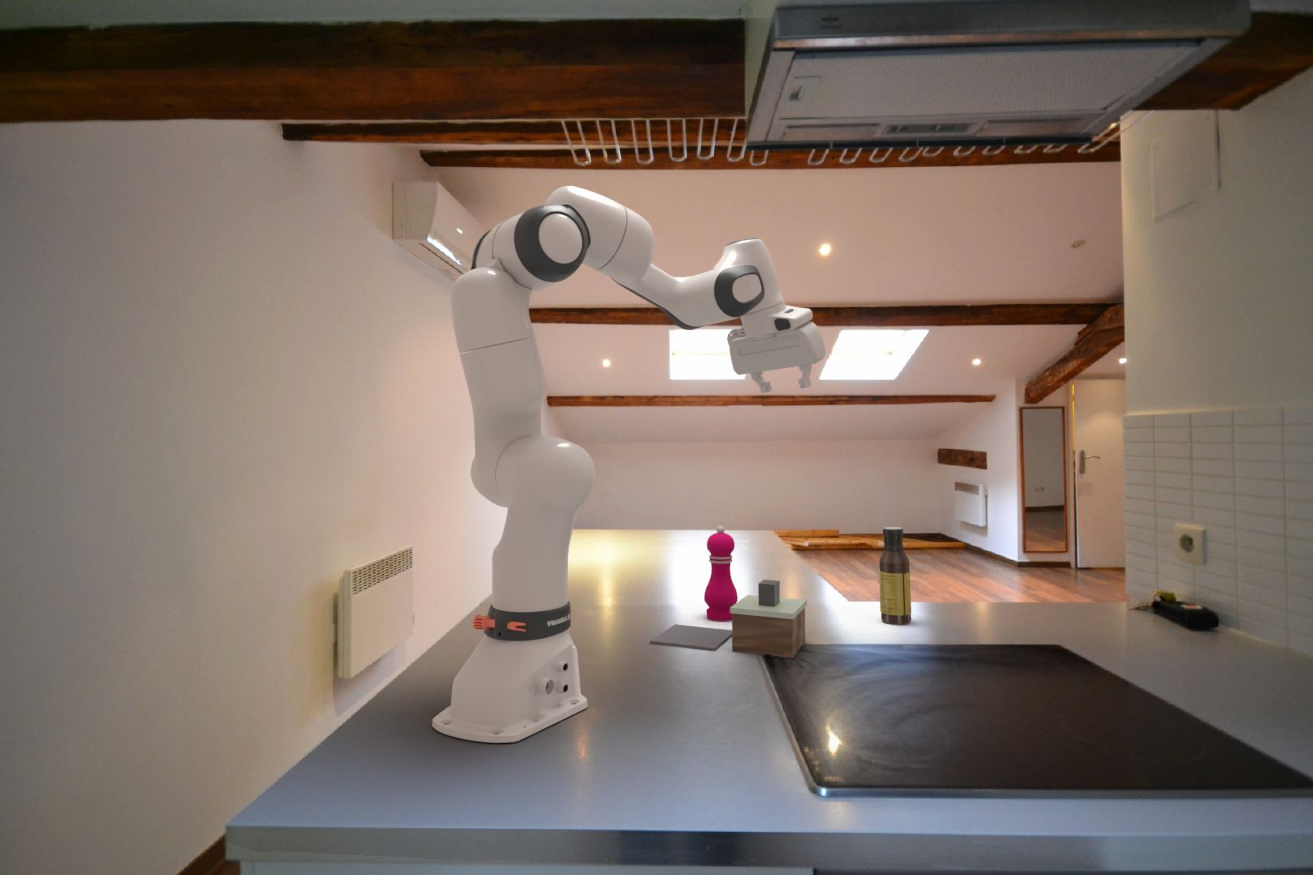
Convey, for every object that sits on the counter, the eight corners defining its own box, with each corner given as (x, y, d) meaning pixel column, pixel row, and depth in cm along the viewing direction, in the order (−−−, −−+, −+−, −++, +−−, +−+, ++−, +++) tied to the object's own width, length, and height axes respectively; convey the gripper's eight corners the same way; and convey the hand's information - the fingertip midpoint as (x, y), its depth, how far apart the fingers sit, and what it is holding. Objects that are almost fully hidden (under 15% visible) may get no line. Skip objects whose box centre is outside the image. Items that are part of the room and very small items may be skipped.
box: (792, 658, 123) (792, 618, 124) (732, 651, 128) (732, 612, 128) (805, 642, 134) (804, 605, 134) (748, 635, 138) (748, 600, 138)
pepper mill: (699, 615, 155) (699, 524, 155) (729, 612, 157) (729, 523, 157) (711, 623, 148) (711, 528, 148) (743, 620, 150) (742, 526, 150)
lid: (793, 624, 123) (793, 590, 123) (730, 618, 128) (729, 585, 128) (806, 610, 134) (806, 578, 134) (747, 604, 138) (747, 574, 138)
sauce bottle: (900, 617, 152) (899, 525, 152) (917, 624, 146) (916, 528, 146) (873, 618, 151) (873, 526, 151) (889, 626, 145) (889, 529, 145)
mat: (714, 651, 128) (714, 648, 128) (649, 643, 133) (649, 640, 133) (735, 633, 140) (735, 630, 140) (675, 626, 145) (675, 624, 145)
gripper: (715, 335, 141) (736, 399, 144) (801, 318, 126) (821, 390, 129) (734, 326, 145) (753, 389, 148) (818, 308, 130) (838, 378, 133)
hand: (785, 389), depth 138 cm, fingers open, 8 cm apart
